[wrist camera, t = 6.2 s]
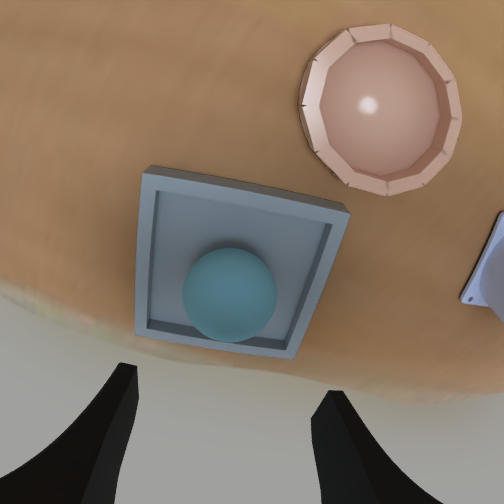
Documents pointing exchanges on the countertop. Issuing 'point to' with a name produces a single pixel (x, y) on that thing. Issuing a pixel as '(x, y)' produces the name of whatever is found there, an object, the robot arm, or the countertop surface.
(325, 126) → the dish
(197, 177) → the tray
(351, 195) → the countertop surface
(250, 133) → the countertop surface
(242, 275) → the ball
